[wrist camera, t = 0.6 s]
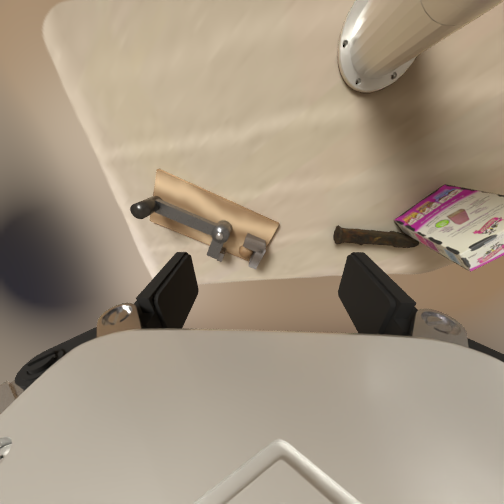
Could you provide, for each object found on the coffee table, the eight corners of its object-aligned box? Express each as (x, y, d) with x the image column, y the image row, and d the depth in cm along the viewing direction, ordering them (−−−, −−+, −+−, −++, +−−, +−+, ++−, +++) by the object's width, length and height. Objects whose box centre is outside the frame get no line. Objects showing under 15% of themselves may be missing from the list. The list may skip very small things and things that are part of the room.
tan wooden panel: (159, 168, 40) (146, 171, 35) (278, 222, 44) (280, 231, 40) (152, 219, 46) (139, 226, 42) (257, 262, 50) (256, 273, 46)
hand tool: (330, 238, 46) (336, 247, 42) (335, 223, 44) (342, 231, 40) (404, 246, 45) (417, 255, 41) (413, 232, 43) (428, 240, 39)
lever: (155, 190, 41) (131, 199, 33) (236, 225, 44) (230, 240, 36) (150, 226, 45) (127, 240, 38) (223, 255, 48) (216, 274, 41)
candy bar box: (403, 233, 43) (469, 273, 29) (392, 219, 42) (457, 255, 28) (455, 199, 39) (564, 227, 25) (445, 182, 37) (555, 203, 23)
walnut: (242, 239, 46) (241, 246, 43) (255, 244, 46) (254, 251, 43) (237, 250, 48) (235, 257, 44) (250, 255, 48) (248, 262, 45)
